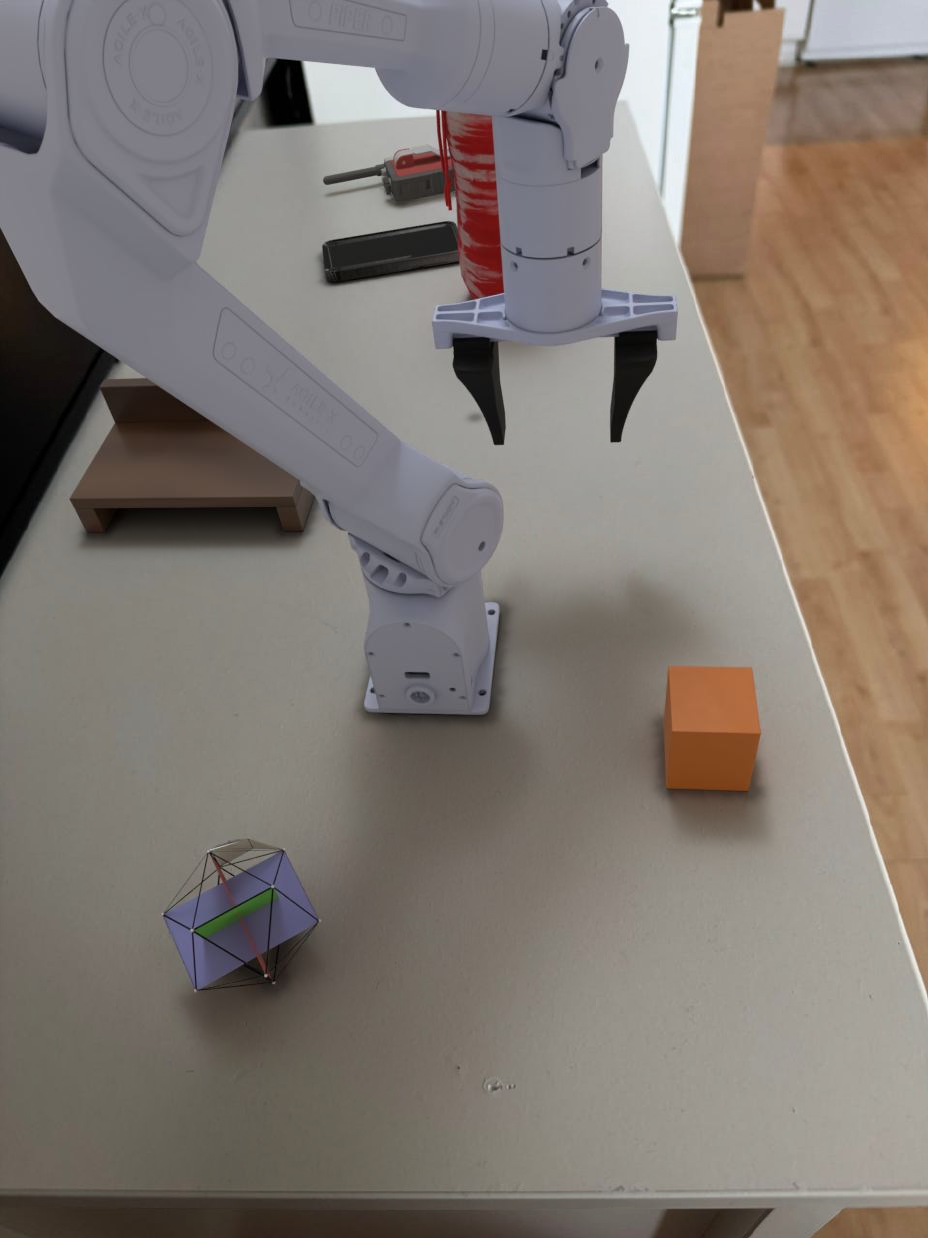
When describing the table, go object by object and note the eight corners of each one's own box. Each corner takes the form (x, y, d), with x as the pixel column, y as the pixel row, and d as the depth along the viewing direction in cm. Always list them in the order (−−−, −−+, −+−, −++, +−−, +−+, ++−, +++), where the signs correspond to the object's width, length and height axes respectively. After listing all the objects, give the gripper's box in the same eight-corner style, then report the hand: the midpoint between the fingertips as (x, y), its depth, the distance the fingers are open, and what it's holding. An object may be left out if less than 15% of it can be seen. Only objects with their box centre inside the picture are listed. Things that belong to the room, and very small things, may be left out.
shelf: (303, 531, 74) (281, 458, 68) (86, 532, 76) (50, 462, 71) (331, 444, 81) (314, 372, 76) (133, 447, 84) (104, 378, 79)
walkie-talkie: (479, 158, 120) (324, 188, 118) (476, 120, 117) (316, 151, 115) (497, 184, 114) (333, 217, 112) (494, 146, 111) (326, 179, 109)
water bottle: (571, 267, 98) (566, -15, 80) (579, 306, 93) (575, 13, 75) (455, 279, 99) (424, 2, 81) (456, 318, 93) (423, 30, 75)
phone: (321, 241, 106) (454, 219, 106) (323, 251, 106) (455, 228, 107) (324, 273, 100) (464, 250, 101) (327, 283, 101) (465, 260, 101)
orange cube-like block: (748, 791, 54) (761, 733, 50) (666, 788, 55) (671, 731, 51) (741, 726, 57) (752, 666, 53) (663, 724, 58) (668, 665, 54)
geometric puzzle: (349, 977, 47) (282, 837, 45) (219, 1054, 45) (143, 910, 43) (320, 924, 53) (261, 800, 52) (206, 989, 51) (140, 862, 50)
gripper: (677, 197, 55) (664, 397, 65) (432, 211, 57) (455, 403, 67) (685, 254, 51) (670, 460, 60) (417, 267, 52) (444, 465, 62)
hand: (557, 434), depth 63 cm, fingers open, 7 cm apart
